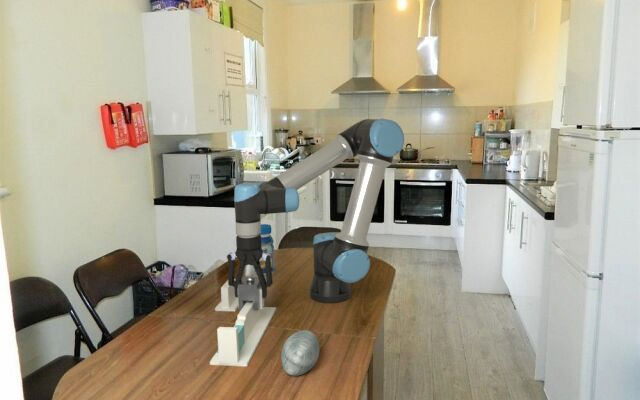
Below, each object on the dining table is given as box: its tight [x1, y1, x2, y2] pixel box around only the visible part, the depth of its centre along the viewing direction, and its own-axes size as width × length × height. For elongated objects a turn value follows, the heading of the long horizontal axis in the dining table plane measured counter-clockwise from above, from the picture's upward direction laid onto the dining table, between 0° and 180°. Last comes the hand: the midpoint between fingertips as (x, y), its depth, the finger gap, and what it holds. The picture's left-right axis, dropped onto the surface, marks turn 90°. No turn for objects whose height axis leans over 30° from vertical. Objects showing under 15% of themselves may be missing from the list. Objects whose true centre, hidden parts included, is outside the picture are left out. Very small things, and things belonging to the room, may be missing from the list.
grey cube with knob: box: [237, 275, 261, 311], centre depth 145 cm, size 6×7×9 cm
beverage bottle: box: [254, 223, 275, 276], centre depth 196 cm, size 8×8×20 cm
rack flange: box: [209, 301, 277, 367], centre depth 140 cm, size 10×37×10 cm, turn 173°
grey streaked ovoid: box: [280, 329, 320, 377], centre depth 122 cm, size 14×10×10 cm
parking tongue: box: [214, 278, 238, 312], centre depth 162 cm, size 7×10×8 cm
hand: (251, 307), depth 146 cm, fingers closed on grey cube with knob, 6 cm apart
